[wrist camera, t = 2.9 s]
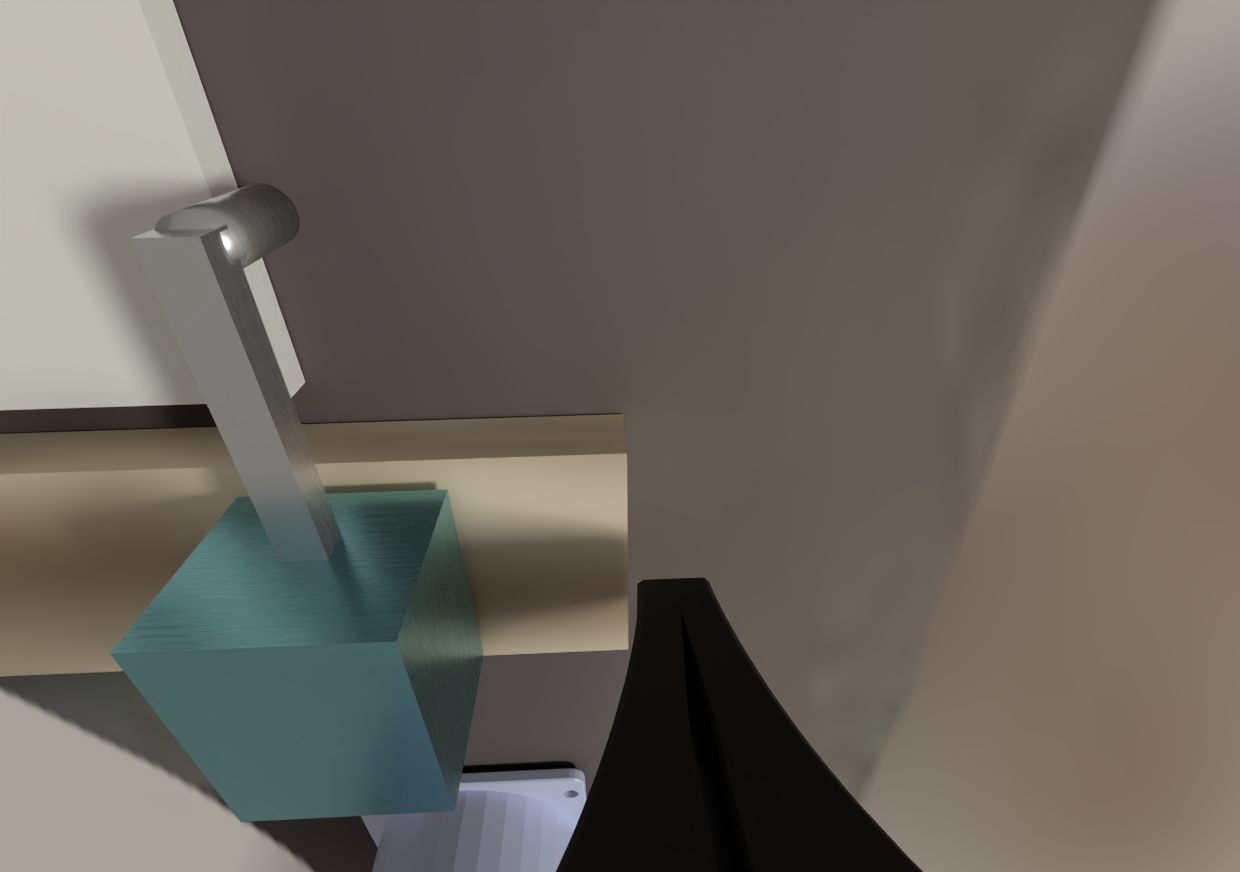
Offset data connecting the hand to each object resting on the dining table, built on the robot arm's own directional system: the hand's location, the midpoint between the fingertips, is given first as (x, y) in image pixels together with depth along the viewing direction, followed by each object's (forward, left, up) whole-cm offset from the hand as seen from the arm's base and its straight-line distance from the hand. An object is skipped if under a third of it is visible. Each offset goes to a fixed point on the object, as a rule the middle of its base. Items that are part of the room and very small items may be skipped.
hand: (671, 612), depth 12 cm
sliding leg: (+3, +6, -2) cm, 7 cm away
